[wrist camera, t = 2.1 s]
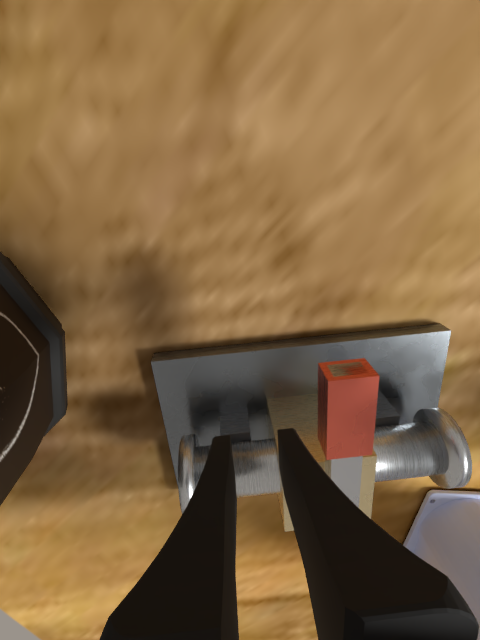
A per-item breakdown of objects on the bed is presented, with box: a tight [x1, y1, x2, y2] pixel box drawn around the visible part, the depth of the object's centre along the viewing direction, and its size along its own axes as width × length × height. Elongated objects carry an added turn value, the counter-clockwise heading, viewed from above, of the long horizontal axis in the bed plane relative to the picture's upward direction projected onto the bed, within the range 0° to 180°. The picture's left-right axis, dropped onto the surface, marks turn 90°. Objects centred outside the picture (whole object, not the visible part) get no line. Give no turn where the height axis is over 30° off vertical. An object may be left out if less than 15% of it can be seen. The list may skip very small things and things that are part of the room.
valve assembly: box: [151, 323, 472, 532], centre depth 21 cm, size 20×13×8 cm, turn 95°
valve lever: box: [317, 358, 379, 508], centre depth 15 cm, size 11×2×1 cm, turn 5°
